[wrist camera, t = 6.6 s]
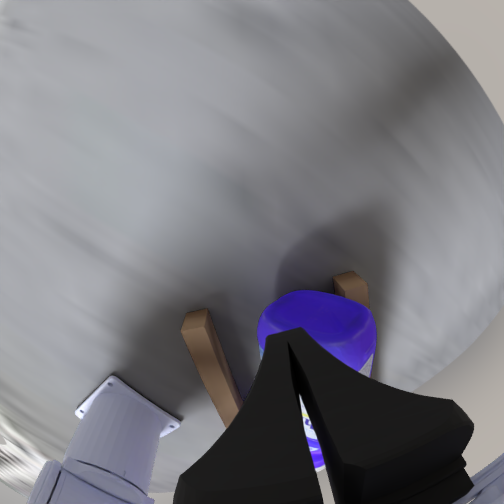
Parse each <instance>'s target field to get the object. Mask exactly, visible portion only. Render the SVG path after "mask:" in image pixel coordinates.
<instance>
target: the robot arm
mask: <svg viewBox="0 0 504 504" xmlns="http://www.w3.org/2000/svg"><path fill="white" fill-rule="evenodd" d="M111 383H112V384H111ZM299 394H300V395H299ZM300 397H301V399H302V402H303V404H304V407H305V409H306V412H307V414H308V417H309V419H310V422H311V424H312V427H313V429H314V432H315V434H316V437H317V440H318V442H319V445H320V448H321V452H322V456H323V459H324V463H325V467H326V471H327V474H328V478H329V482H330V486H331V489H332V493H333V497H334V501H335V504H466V503H468V502H469V501H471V500H472V499H474V498H475V499H474V500H473V501H471V502H470V503H469V504H504V453H503V454H502V455H501V456H500V457H498V458H497V459H496V460H494V461H493V462H492V463H490V464H489V465H488V466H486V467H485V468H484V469H482V470H481V471H480V472H478V473H477V474H475V475H474V476H472V477H471V478H470V477H469V476H468V474H467V472H466V471H465V469H464V467H465V466H466V461H465V460H464V458H463V457H462V453H463V451H464V450H465V448H466V446H467V444H468V443H469V441H470V439H471V437H472V434H473V431H474V423H473V422H472V421H471V420H470V418H469V417H468V416H467V414H466V413H465V412H464V411H463V410H462V408H460V407H459V406H458V405H457V404H456V403H455V402H454V401H453V400H450V399H443V398H436V397H429V396H423V395H418V394H414V393H410V392H407V391H403V390H400V389H397V388H394V387H391V386H388V385H386V384H383V383H380V382H378V381H376V380H373V379H371V378H369V377H367V376H365V375H363V374H361V373H359V372H358V371H356V370H354V369H353V368H351V367H349V366H348V365H346V364H345V363H343V362H342V361H340V360H339V359H337V358H336V357H335V356H333V355H332V354H331V353H329V352H328V351H327V350H326V349H324V348H323V347H322V346H321V345H320V344H319V343H317V342H316V341H315V340H314V339H313V338H312V337H311V336H310V335H309V334H308V333H307V332H306V331H305V329H304V328H302V327H298V328H294V329H290V330H286V331H282V332H279V333H275V334H271V335H268V336H267V337H266V338H265V348H264V352H263V356H262V360H261V363H260V366H259V369H258V372H257V375H256V377H255V380H254V382H253V385H252V387H251V389H250V391H249V393H248V395H247V397H246V399H245V401H244V403H243V405H242V407H241V408H240V410H239V412H238V413H237V415H236V416H235V418H234V419H233V421H232V422H231V424H230V425H229V426H228V428H227V429H226V430H225V432H224V433H223V434H222V435H221V436H220V438H219V439H218V440H217V441H216V442H215V443H214V444H213V446H212V447H211V448H210V449H209V450H208V451H207V452H206V453H205V454H204V455H203V456H202V457H201V458H200V459H199V460H198V461H197V462H195V463H194V464H193V465H192V466H191V467H190V468H189V469H187V470H186V471H185V472H184V473H183V474H181V475H180V477H179V480H178V483H177V487H176V490H175V494H174V498H173V504H324V503H323V498H322V493H321V489H320V485H319V482H318V478H317V474H316V470H315V466H314V463H313V459H312V456H311V452H310V448H309V445H308V441H307V437H306V433H305V430H304V423H303V416H302V409H301V402H300ZM75 414H76V415H77V416H78V417H79V418H81V421H80V423H79V425H78V427H77V429H76V431H75V433H74V435H73V437H72V439H71V441H70V443H69V446H68V448H67V450H66V452H65V455H64V460H63V463H62V464H61V463H60V462H58V461H57V460H53V461H46V463H45V464H44V466H43V468H42V470H41V472H40V474H39V476H38V478H37V480H36V482H35V484H34V487H33V489H32V491H31V493H30V496H29V498H28V501H27V504H154V499H152V498H149V497H147V495H148V490H149V485H150V480H151V475H152V470H153V466H154V461H155V456H156V452H157V447H158V443H159V438H161V437H163V436H165V435H166V434H168V433H170V432H172V431H173V430H175V429H177V428H178V427H180V424H181V422H180V421H179V420H178V419H176V418H174V417H173V416H171V415H170V414H168V413H166V412H165V411H163V410H162V409H160V408H159V407H157V406H156V405H154V404H153V403H151V402H150V401H148V400H147V399H145V398H144V397H143V396H141V395H140V394H138V393H137V392H136V391H134V390H133V389H131V388H130V387H129V386H127V385H126V384H125V383H123V382H122V381H121V380H120V379H118V378H117V377H115V376H109V377H108V378H107V379H106V380H105V381H104V382H103V383H102V384H101V385H100V386H99V387H98V388H97V389H96V390H95V391H94V392H93V393H92V394H91V395H90V396H89V397H88V398H87V399H86V400H85V401H84V402H83V403H82V404H81V405H80V406H79V407H78V408H77V409H76V410H75Z"/></svg>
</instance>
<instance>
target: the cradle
mask: <svg viewBox="0 0 504 504" xmlns="http://www.w3.org/2000/svg"><path fill="white" fill-rule="evenodd" d="M333 283H334V290H335V295H338V296H341V297H344V298H347V299H350V300H353V301H356V302H358V303H360V304H362V305H364V306H365V307H367V308H368V309H369V296H368V284H367V283H366V282H365V281H364V280H363V279H362V278H361V277H359V276H358V275H357V274H356V273H355V272H354V271H351V272H348V273H344V274H341V275H337V276H333ZM181 333H182V336H183V338H184V341H185V343H186V345H187V348H188V350H189V352H190V354H191V357H192V359H193V361H194V363H195V366H196V368H197V370H198V372H199V374H200V376H201V379H202V381H203V383H204V385H205V387H206V389H207V391H208V393H209V395H210V397H211V399H212V401H213V403H214V405H215V407H216V409H217V411H218V413H219V415H220V417H221V419H222V421H223V423H224V425H225V427H226V429H227V428H228V426H229V425H230V424H231V422H232V421H233V419H234V418H235V416H236V415H237V413H238V412H239V410H240V408H241V407H242V405H243V401H242V398H241V396H240V393H239V391H238V388H237V386H236V383H235V381H234V378H233V376H232V373H231V371H230V368H229V365H228V363H227V360H226V358H225V355H224V352H223V350H222V347H221V344H220V342H219V339H218V336H217V333H216V331H215V328H214V325H213V322H212V319H211V317H210V314H209V311H208V308H207V309H203V310H198V311H194V312H189V313H186V316H185V319H184V322H183V325H182V328H181ZM370 378H371V375H370Z"/></svg>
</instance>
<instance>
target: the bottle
mask: <svg viewBox="0 0 504 504" xmlns="http://www.w3.org/2000/svg"><path fill="white" fill-rule="evenodd" d="M298 327H302V328H304V329H305V331H306V332H307V333H308V334H309V335H310V336H311V337H312V338H313V339H314V340H315V341H316V342H317V343H319V344H320V345H321V346H322V347H323V348H324V349H326V350H327V351H328V352H329V353H331V354H332V355H333V356H335V357H336V358H337V359H339V360H340V361H342V362H343V363H345V364H346V365H348V366H349V367H351V368H353V369H354V370H356V371H358V372H359V373H361V374H363V375H365V376H367V377H369V378H370V375H371V370H372V364H373V359H374V355H375V348H376V340H377V332H376V325H375V321H374V318H373V316H372V313H371V311H370V310H369V309H368V308H367V307H365V306H364V305H362V304H360V303H358V302H356V301H353V300H350V299H347V298H344V297H341V296H338V295H334V294H329V293H325V292H320V291H313V290H298V291H293V292H290V293H288V294H286V295H284V296H282V297H280V298H279V299H278V300H277V301H275V302H273V303H272V304H270V305H269V306H267V307H266V308H265V310H264V311H263V313H262V314H261V316H260V319H259V322H258V327H257V338H258V342H259V350H260V357H261V360H262V356H263V352H264V348H265V338H266V337H267V336H268V335H271V334H275V333H279V332H282V331H286V330H290V329H294V328H298ZM299 395H300V394H299ZM300 402H301V409H302V416H303V423H304V430H305V433H306V437H307V441H308V445H309V448H310V452H311V456H312V459H313V463H314V466H315V470H316V472H318V471H320V470H322V469H324V468H325V463H324V459H323V456H322V452H321V448H320V445H319V442H318V440H317V437H316V434H315V432H314V429H313V427H312V424H311V422H310V419H309V417H308V414H307V412H306V409H305V407H304V404H303V402H302V399H301V397H300Z"/></svg>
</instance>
